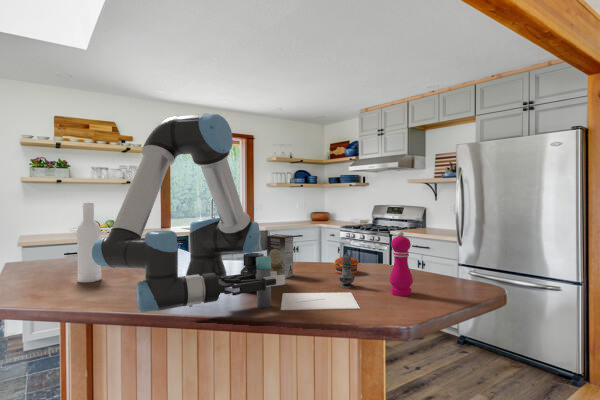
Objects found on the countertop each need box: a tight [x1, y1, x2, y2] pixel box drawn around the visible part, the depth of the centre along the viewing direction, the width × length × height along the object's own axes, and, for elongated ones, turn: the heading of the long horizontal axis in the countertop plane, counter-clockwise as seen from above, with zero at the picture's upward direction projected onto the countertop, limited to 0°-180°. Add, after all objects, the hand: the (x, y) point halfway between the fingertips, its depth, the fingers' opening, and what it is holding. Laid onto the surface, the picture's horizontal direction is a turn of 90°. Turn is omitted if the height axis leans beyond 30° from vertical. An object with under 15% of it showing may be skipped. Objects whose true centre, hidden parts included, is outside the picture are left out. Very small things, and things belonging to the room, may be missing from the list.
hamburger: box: [331, 256, 362, 276], centre depth 146 cm, size 9×10×7 cm
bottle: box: [76, 201, 102, 283], centre depth 137 cm, size 8×8×30 cm
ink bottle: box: [239, 252, 265, 294], centre depth 121 cm, size 10×9×12 cm
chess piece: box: [338, 251, 356, 289], centre depth 124 cm, size 6×6×12 cm
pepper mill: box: [389, 231, 414, 297], centre depth 114 cm, size 7×7×20 cm
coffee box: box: [266, 233, 294, 279], centre depth 142 cm, size 9×6×16 cm
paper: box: [280, 292, 361, 311], centre depth 107 cm, size 22×16×1 cm
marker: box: [256, 255, 272, 309], centre depth 103 cm, size 4×4×14 cm
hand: (280, 277), depth 105 cm, fingers open, 4 cm apart
